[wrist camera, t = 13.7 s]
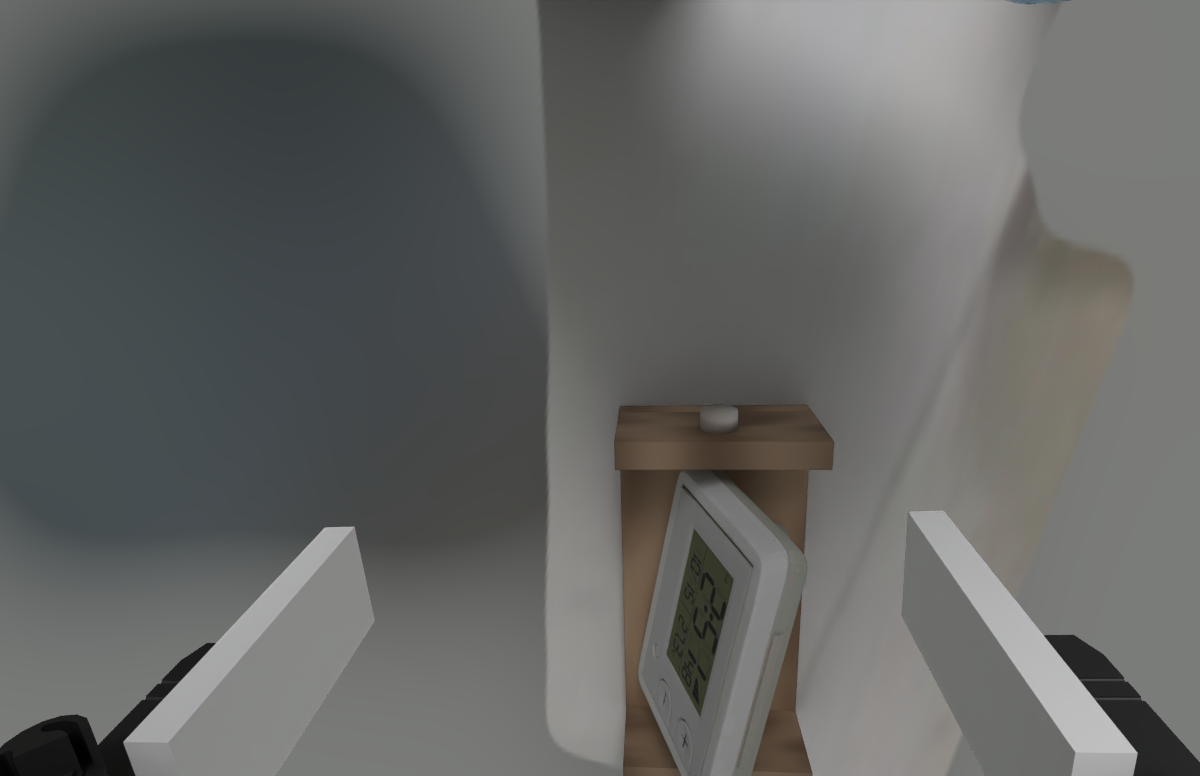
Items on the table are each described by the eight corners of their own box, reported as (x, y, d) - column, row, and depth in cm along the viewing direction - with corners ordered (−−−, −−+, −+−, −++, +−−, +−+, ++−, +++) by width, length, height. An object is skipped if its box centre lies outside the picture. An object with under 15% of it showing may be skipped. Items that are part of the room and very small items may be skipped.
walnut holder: (808, 388, 40) (835, 422, 34) (789, 728, 46) (810, 807, 40) (619, 390, 41) (613, 423, 35) (627, 723, 47) (624, 800, 41)
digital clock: (691, 438, 40) (703, 522, 30) (833, 492, 40) (895, 594, 30) (594, 655, 44) (577, 793, 34) (723, 702, 45) (743, 853, 34)
